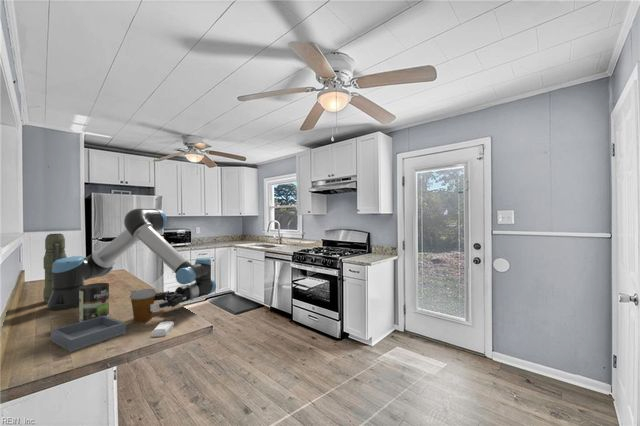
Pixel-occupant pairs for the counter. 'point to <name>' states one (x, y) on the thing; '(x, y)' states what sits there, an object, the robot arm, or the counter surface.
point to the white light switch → (162, 329)
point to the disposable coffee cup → (142, 304)
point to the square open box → (87, 332)
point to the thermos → (52, 260)
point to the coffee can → (93, 301)
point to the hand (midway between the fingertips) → (141, 305)
